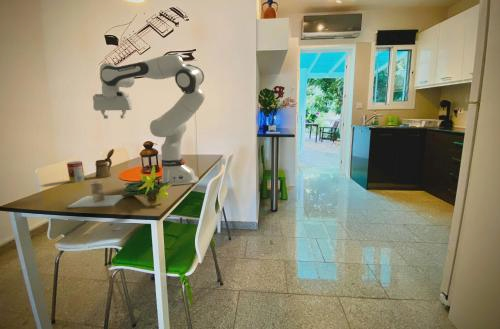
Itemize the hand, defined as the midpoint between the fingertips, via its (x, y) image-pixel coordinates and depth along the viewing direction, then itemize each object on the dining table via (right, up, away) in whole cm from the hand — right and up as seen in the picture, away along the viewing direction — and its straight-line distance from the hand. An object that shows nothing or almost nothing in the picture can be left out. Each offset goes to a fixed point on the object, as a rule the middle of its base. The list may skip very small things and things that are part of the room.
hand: (114, 118), depth 143 cm
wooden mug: (-20, -35, +26) cm, 48 cm away
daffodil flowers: (+28, -45, -26) cm, 59 cm away
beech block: (+6, -44, -24) cm, 51 cm away
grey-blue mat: (+6, -45, -24) cm, 51 cm away
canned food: (-32, -38, +15) cm, 52 cm away
